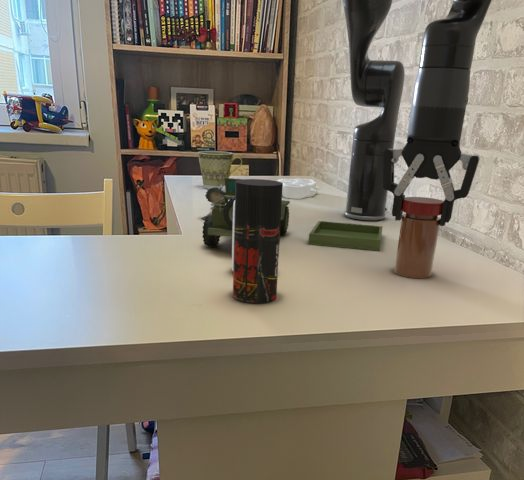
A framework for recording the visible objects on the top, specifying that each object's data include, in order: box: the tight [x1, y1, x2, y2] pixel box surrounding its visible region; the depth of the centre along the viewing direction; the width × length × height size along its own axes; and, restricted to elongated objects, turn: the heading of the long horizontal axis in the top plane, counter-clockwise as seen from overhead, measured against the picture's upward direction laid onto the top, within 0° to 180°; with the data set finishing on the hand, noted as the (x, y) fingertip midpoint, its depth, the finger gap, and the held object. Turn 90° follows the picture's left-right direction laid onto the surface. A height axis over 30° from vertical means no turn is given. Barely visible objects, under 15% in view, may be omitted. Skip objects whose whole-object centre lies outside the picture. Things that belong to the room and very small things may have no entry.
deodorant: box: [232, 178, 283, 304], centre depth 73 cm, size 6×6×15 cm
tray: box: [308, 220, 384, 252], centre depth 110 cm, size 13×13×2 cm
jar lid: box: [402, 196, 444, 216], centre depth 86 cm, size 6×6×2 cm
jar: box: [393, 213, 441, 279], centre depth 88 cm, size 6×6×11 cm
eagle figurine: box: [200, 187, 226, 220], centre depth 122 cm, size 8×7×9 cm
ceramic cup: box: [197, 150, 244, 190], centre depth 163 cm, size 13×10×10 cm
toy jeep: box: [202, 177, 291, 248], centre depth 103 cm, size 12×25×11 cm, turn 168°
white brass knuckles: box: [276, 178, 322, 200], centre depth 161 cm, size 3×18×15 cm
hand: (420, 222), depth 86 cm, fingers closed on jar lid, 6 cm apart
